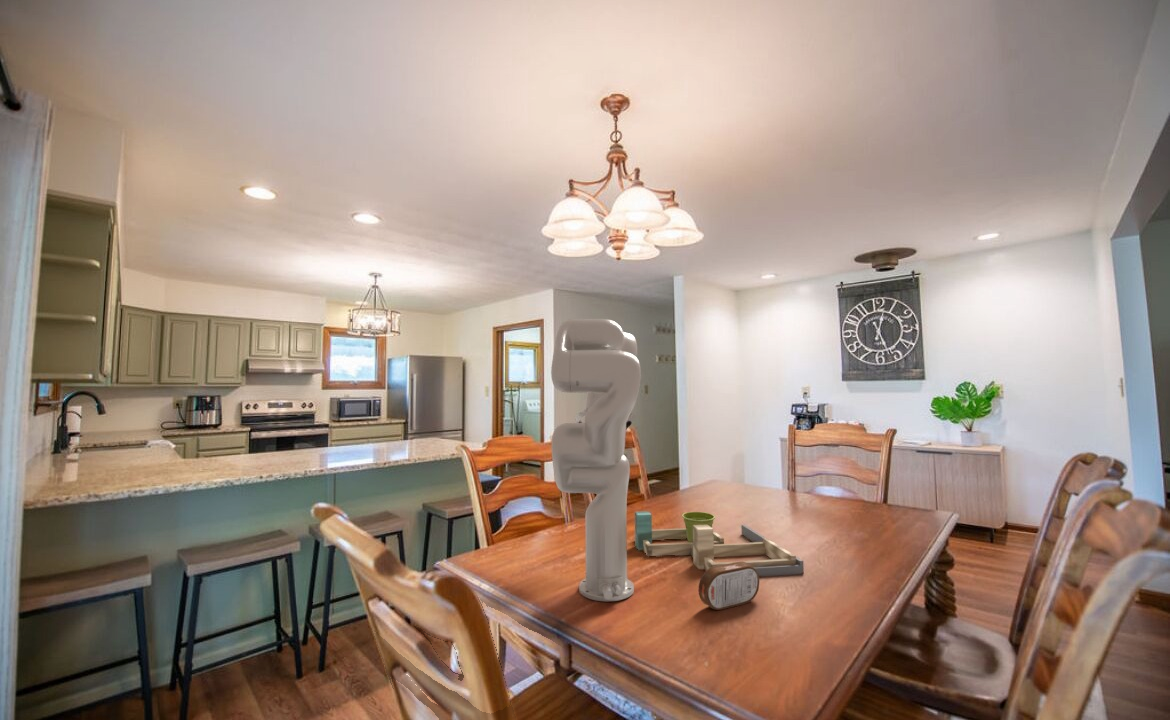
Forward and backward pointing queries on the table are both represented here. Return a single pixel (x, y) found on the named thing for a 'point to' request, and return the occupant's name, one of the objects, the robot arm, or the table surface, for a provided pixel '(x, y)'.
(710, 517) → the plant pot
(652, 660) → the table surface
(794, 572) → the rack
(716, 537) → the pot
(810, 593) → the table surface
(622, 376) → the robot arm
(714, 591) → the tin
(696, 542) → the frame
